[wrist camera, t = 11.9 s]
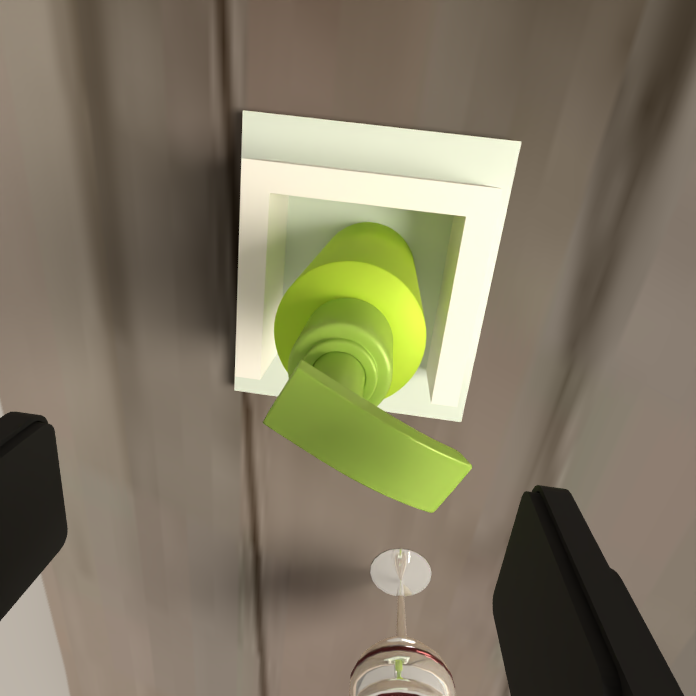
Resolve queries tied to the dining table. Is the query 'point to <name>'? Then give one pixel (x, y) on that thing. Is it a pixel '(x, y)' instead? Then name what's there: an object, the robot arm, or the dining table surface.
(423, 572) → the wineglass
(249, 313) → the u rest
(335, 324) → the soap dispenser
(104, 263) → the dining table surface
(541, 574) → the robot arm
